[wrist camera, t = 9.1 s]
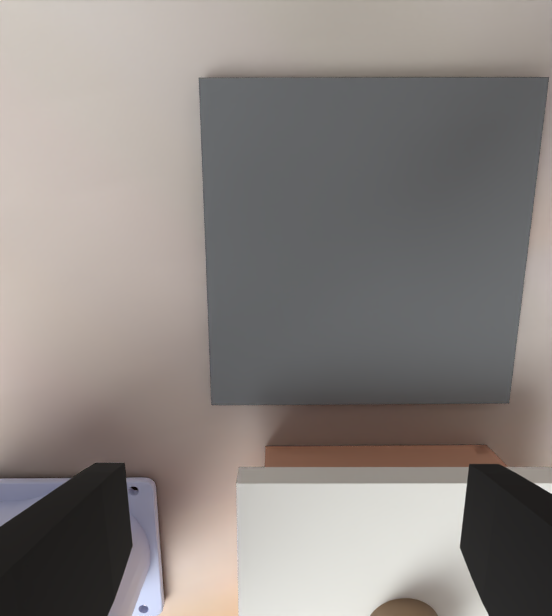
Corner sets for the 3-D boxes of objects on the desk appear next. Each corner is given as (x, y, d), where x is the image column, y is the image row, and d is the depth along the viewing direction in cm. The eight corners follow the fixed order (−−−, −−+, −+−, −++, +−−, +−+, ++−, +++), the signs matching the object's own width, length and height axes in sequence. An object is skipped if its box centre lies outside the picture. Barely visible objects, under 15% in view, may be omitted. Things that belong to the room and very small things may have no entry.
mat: (213, 399, 19) (211, 405, 18) (201, 83, 16) (198, 77, 15) (501, 398, 19) (509, 403, 18) (539, 82, 16) (549, 77, 16)
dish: (267, 627, 21) (266, 716, 17) (265, 446, 19) (263, 501, 15) (465, 625, 21) (508, 713, 18) (486, 444, 19) (540, 499, 15)
